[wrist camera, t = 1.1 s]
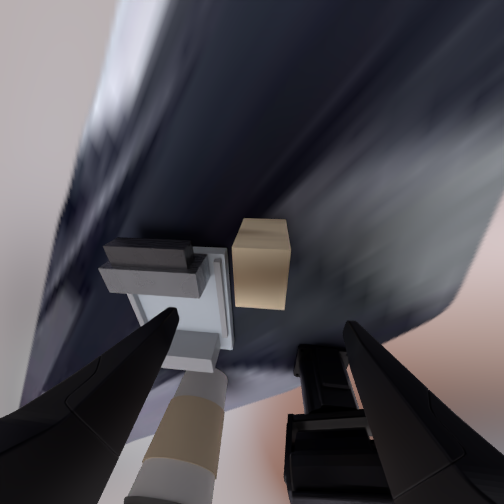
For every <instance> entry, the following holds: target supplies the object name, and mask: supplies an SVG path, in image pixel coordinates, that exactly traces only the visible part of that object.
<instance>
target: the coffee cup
mask: <svg viewBox="0 0 504 504" xmlns="http://www.w3.org/2000/svg"><path fill="white" fill-rule="evenodd" d="M227 382H228V379H227V377H226V375H225V374H224V373H223V372H221V371H220V370H218V369H216V368H215V370H214V373H207V372H198V371H188V370H186V372H185V374H184V376H183V378H182V380H181V382H180V385H179V387H178V389H177V391H176V393H175V395H174V398H173V399H172V400H171V401H170V403H169V405H168V408H167V410H166V412H165V414H164V416H163V418H162V420H161V422H160V425H159V427H158V429H157V431H156V433H155V435H154V437H153V440H152V442H151V444H150V446H149V448H148V450H147V452H146V454H145V456H144V459H143V461H142V463H143V464H142V467H141V469H140V471H139V473H138V475H137V477H136V479H135V482H134V484H133V486H132V488H131V490H130V492H129V494H128V496H127V497H125V499H124V504H212V497H213V490H214V482H215V479H216V476H217V469H218V461H219V453H220V445H221V437H222V429H223V421H224V405H225V397H226V390H227Z"/></svg>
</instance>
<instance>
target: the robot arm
mask: <svg viewBox="0 0 504 504" xmlns="http://www.w3.org/2000/svg"><path fill="white" fill-rule="evenodd" d="M178 323H179V314H178V311H177V308H176V307H168V308H166V309H165V310H164V311H162V312H161V313H159V314H158V315H157V316H155V317H154V318H152V319H151V320H150V321H148V322H147V323H145V324H144V325H143V326H141V327H140V328H138V329H137V330H136V331H134V332H133V333H131V334H130V335H129V336H127V337H126V338H124V339H123V340H122V341H120V342H119V343H117V344H116V345H115V346H113V347H112V348H110V349H109V350H108V351H106V352H105V353H103V354H102V355H101V356H99V357H98V358H96V359H95V360H94V361H92V362H91V363H89V364H88V365H86V366H85V367H84V368H82V369H81V370H79V371H78V372H76V373H75V374H73V375H72V376H70V377H69V378H67V379H66V380H64V381H63V382H61V383H59V384H58V385H56V386H55V387H53V388H52V389H50V390H48V391H47V392H45V393H44V394H42V395H40V396H39V397H37V398H36V399H34V400H33V401H31V402H29V403H28V404H26V405H25V406H23V407H21V408H20V409H18V410H16V411H15V412H13V413H11V414H9V415H6V416H5V417H2V418H0V504H97V503H98V501H99V499H100V497H101V495H102V493H103V490H104V488H105V486H106V484H107V482H108V480H109V478H110V475H111V473H112V471H113V469H114V467H115V465H116V463H117V461H118V459H119V456H120V454H121V451H122V450H123V448H124V445H125V443H126V441H127V439H128V437H129V435H130V433H131V430H132V428H133V426H134V424H135V422H136V420H137V418H138V415H139V413H140V411H141V409H142V407H143V405H144V403H145V401H146V398H147V396H148V394H149V392H150V390H151V388H152V386H153V383H154V381H155V379H156V377H157V375H158V373H159V371H160V368H161V366H162V364H163V362H164V360H165V358H166V356H167V353H168V351H169V349H170V346H171V343H172V341H173V338H174V335H175V332H176V329H177V326H178ZM343 338H344V342H345V347H346V349H341V348H330V347H318V346H307V345H300V346H298V350H297V355H296V361H295V366H294V371H293V372H294V376H296V377H300V379H301V387H302V396H303V404H304V413H305V414H296V415H294V414H288V423H287V430H286V446H285V465H284V481H285V483H286V485H287V490H288V495H289V500H290V503H291V504H504V455H503V454H502V453H501V452H499V451H498V450H497V449H496V448H495V447H493V446H492V445H491V444H490V443H489V442H487V441H486V440H485V439H484V438H483V437H482V436H480V435H479V434H478V433H477V432H476V431H475V430H473V429H472V428H471V427H470V426H469V425H468V424H467V423H465V422H464V421H463V420H462V419H461V418H459V417H458V416H457V415H456V414H455V413H454V412H453V411H451V409H450V408H448V407H447V406H446V405H445V404H444V403H443V402H442V401H441V400H440V399H439V398H438V397H436V396H435V395H434V394H433V393H432V392H431V391H430V390H428V388H427V387H426V386H425V385H424V384H423V383H421V382H420V381H419V380H418V379H417V378H416V377H415V376H414V375H413V374H412V373H411V372H410V371H409V370H408V369H407V368H405V367H404V366H403V365H402V364H401V363H400V362H399V361H398V360H397V359H396V358H395V357H394V356H393V355H392V354H391V353H390V352H388V351H387V350H386V349H385V348H384V347H383V346H382V345H381V344H380V343H379V342H378V341H377V340H376V339H375V338H374V337H372V336H371V335H370V334H369V333H368V332H367V331H366V330H365V329H364V328H363V327H362V326H361V325H360V324H359V323H358V322H356V321H349V320H348V321H347V322H346V324H345V327H344V330H343ZM348 364H349V365H350V369H351V372H352V375H353V378H354V381H355V384H356V387H357V390H358V393H359V396H360V399H361V402H362V405H363V408H364V409H359V406H358V403H357V400H356V397H355V394H354V391H353V388H352V385H351V382H350V379H349V376H348V373H347V370H346V369H347V367H348ZM369 436H373V438H374V440H370V438H369Z"/></svg>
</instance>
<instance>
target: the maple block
mask: <svg viewBox="0 0 504 504" xmlns="http://www.w3.org/2000/svg"><path fill="white" fill-rule="evenodd" d="M290 255H291V247H290V241H289V235H288V229H287V224H286V219H254V218H244V219H243V222H242V224H241V227H240V229H239V231H238V234H237V236H236V239H235V241H234V243H233V246H232V257H233V273H234V289H235V305H236V307H249V308H263V309H277V310H284V308H285V299H286V290H287V282H288V273H289V264H290Z"/></svg>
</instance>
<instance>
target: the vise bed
mask: <svg viewBox="0 0 504 504" xmlns="http://www.w3.org/2000/svg"><path fill="white" fill-rule="evenodd" d="M193 251H194V254H207V255H208V262H209V269H210V279H209V281H208V283H207V285H206V287H205V289H204V291H203V293H202V295H201V297H200V299H198V298H183V297H169V296H154V295H140V294H127V295H128V298H129V300H130V302H131V305H132V307H133V309H134V311H135V314H136V316H137V318H138V321H139V323H140V325H141V326H143V325H144V324H145V323H147V322H148V321H150V320H151V319H152V318H154V317H155V316H157V315H158V314H159V313H161V312H162V311H164V310H165V309H166V308H168V307H176V308H177V311H178V314H179V323H178V326H177V329H176V332H175V335H174V338H173V341H172V343H171V346H170V349H169V351H168V353H167V356H166V358H165V360H164V362H163V364H162V366H161V368H169V369H179V370H188V371H198V372H207V373H214V370H215V366H216V362H217V358H218V355H219V351H220V349H228V350H233V345H234V331H233V318H232V306H231V293H230V280H229V267H228V254H227V248H215V247H193Z"/></svg>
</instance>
